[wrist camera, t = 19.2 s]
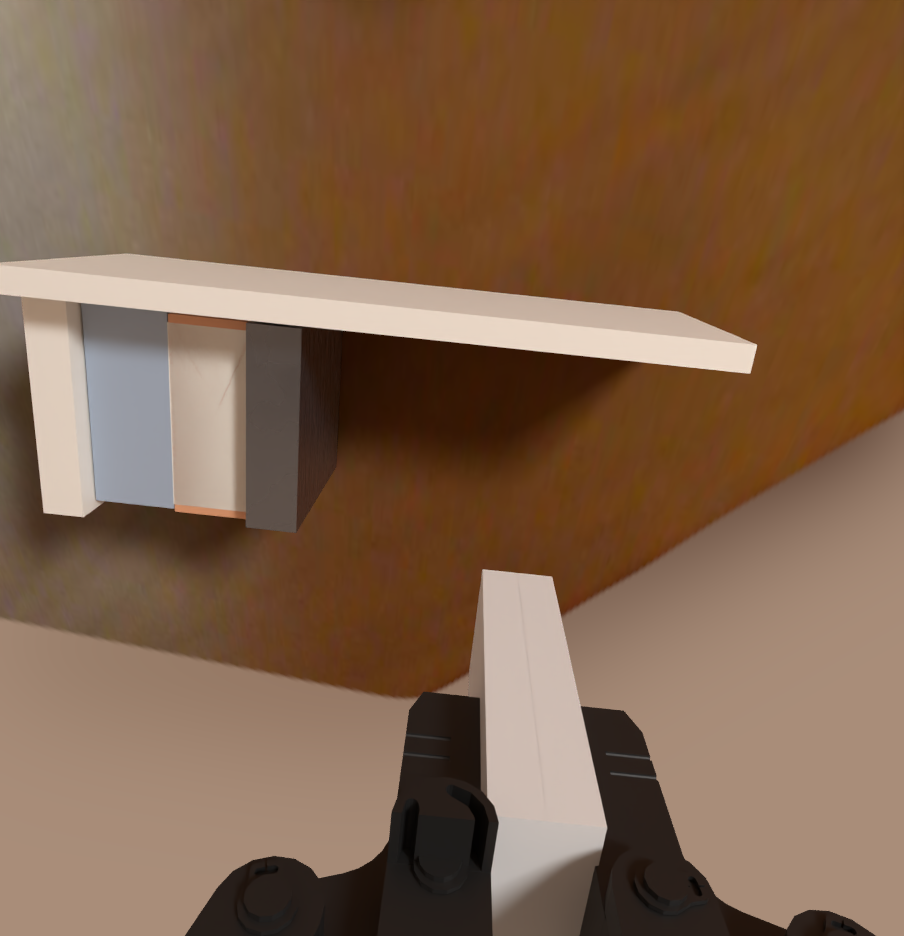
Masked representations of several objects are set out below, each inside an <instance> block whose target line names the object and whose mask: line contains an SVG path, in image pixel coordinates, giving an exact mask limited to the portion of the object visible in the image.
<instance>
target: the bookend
mask: <svg viewBox="0 0 904 936" xmlns="http://www.w3.org/2000/svg"><path fill="white" fill-rule="evenodd" d="M342 332H343V330H333V329H324V328H314V327H305V326H296V325H286V324H277V323H267V322H258V321H249V322H247V323H246V527H247V528H257V529H266V530H275V531H285V532H294V533H296V532H297V531H298V529H299V527H300V526H301V524H302V522H303V521H304V519H305V517H306V516H307V514H308V512H309V511H310V509H311V508H312V506H313V504H314V503H315V501H316V499H317V498H318V496H319V494H320V493H321V491H322V489H323V488H324V486H325V484H326V483H327V481H328V480H329V478H330V476H331V475H332V473H333V471H334V470H335V468H336V462H337V440H338V418H339V397H340V375H341V354H342Z"/></svg>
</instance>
